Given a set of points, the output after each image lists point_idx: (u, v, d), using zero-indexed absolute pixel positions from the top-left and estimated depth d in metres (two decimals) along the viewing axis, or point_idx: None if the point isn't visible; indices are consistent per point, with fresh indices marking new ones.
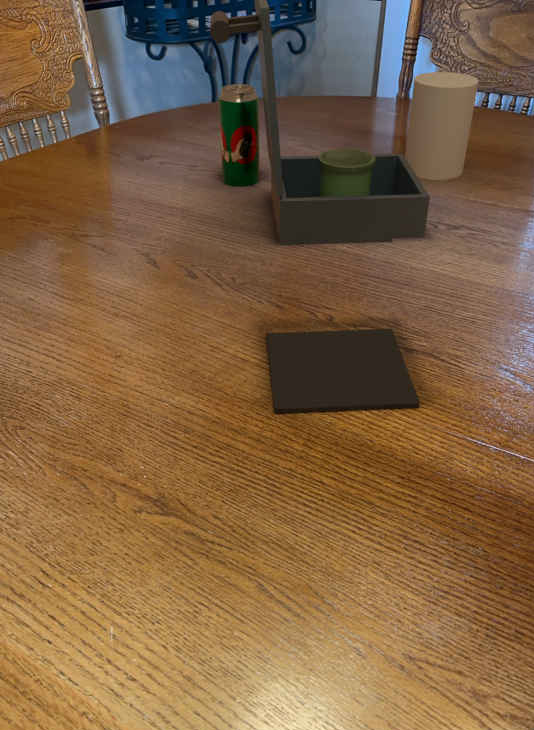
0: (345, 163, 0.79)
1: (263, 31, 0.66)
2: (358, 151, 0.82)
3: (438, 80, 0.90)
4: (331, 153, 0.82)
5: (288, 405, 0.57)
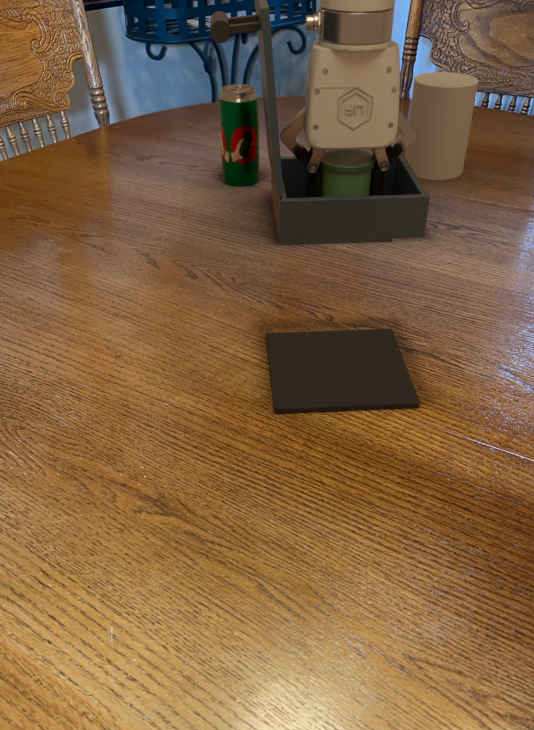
0: (345, 163, 0.79)
1: (263, 31, 0.66)
2: (359, 151, 0.82)
3: (438, 80, 0.90)
4: (331, 153, 0.82)
5: (288, 405, 0.57)
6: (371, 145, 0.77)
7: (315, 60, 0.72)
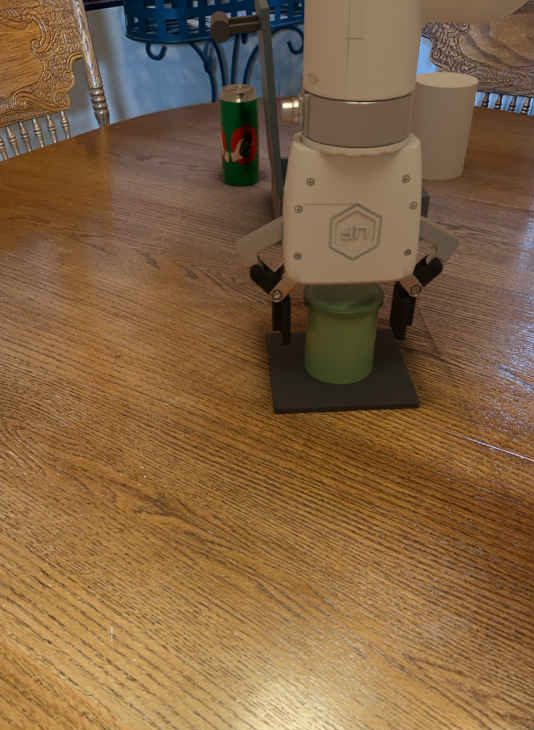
0: (340, 304, 0.56)
1: (263, 31, 0.66)
2: None
3: (438, 80, 0.90)
4: (321, 285, 0.58)
5: (288, 405, 0.57)
6: (379, 278, 0.53)
7: (295, 166, 0.48)
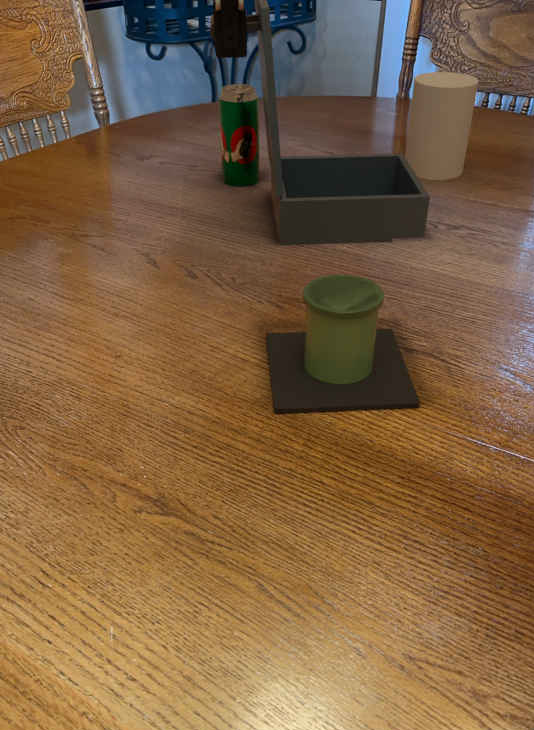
0: (340, 304, 0.56)
1: (263, 31, 0.66)
2: (360, 279, 0.59)
3: (438, 80, 0.90)
4: (321, 285, 0.58)
5: (288, 405, 0.57)
6: None
7: None
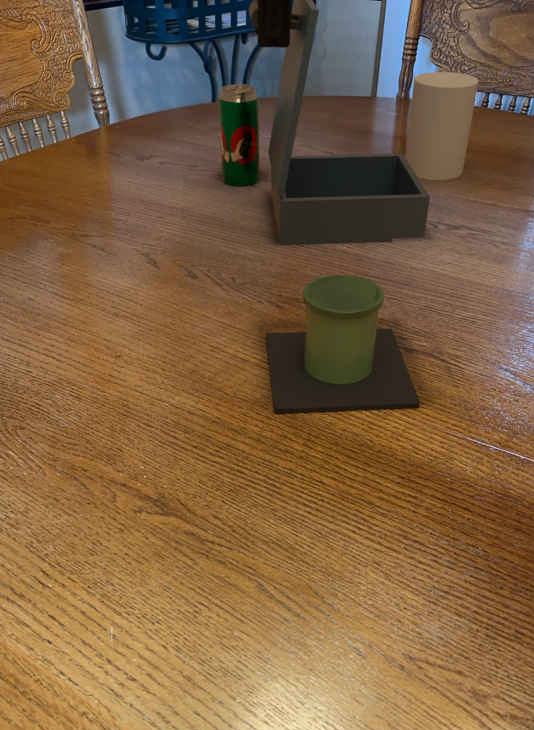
0: (340, 304, 0.56)
1: (307, 32, 0.66)
2: (360, 279, 0.59)
3: (438, 80, 0.90)
4: (321, 285, 0.58)
5: (288, 405, 0.57)
6: None
7: None
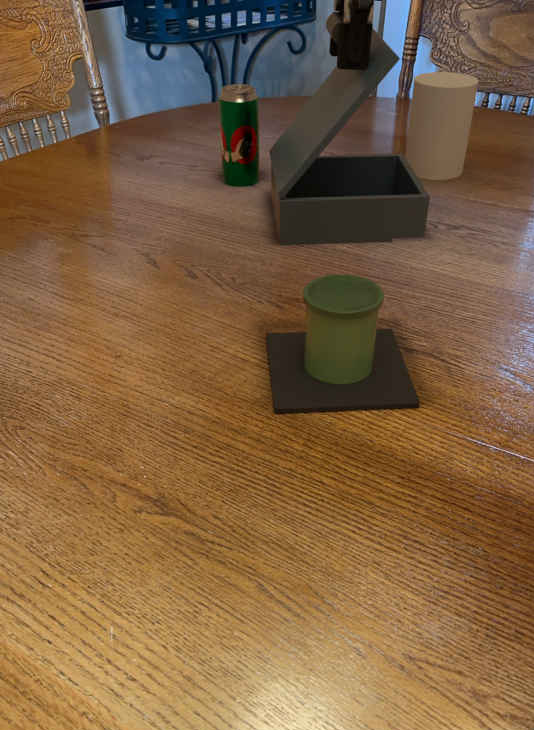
0: (340, 304, 0.56)
1: (381, 70, 0.68)
2: (360, 279, 0.59)
3: (438, 80, 0.90)
4: (321, 285, 0.58)
5: (288, 405, 0.57)
6: None
7: None
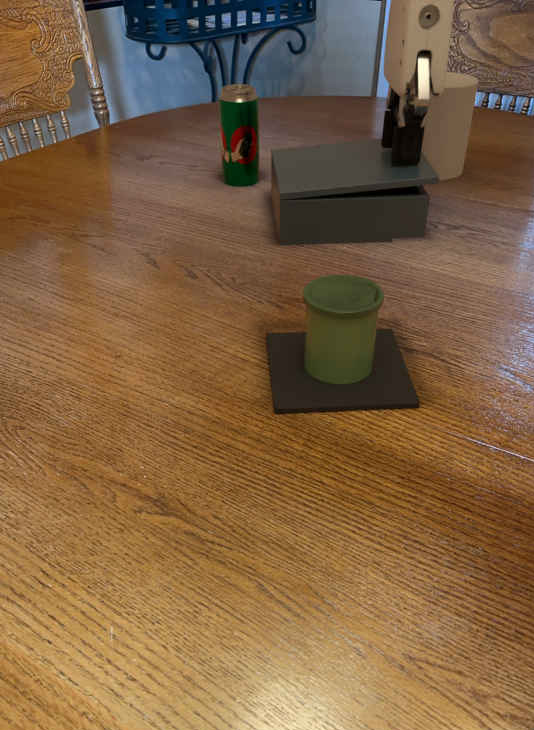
0: (340, 304, 0.56)
1: (422, 179, 0.76)
2: (360, 279, 0.59)
3: None
4: (321, 285, 0.58)
5: (288, 405, 0.57)
6: None
7: None
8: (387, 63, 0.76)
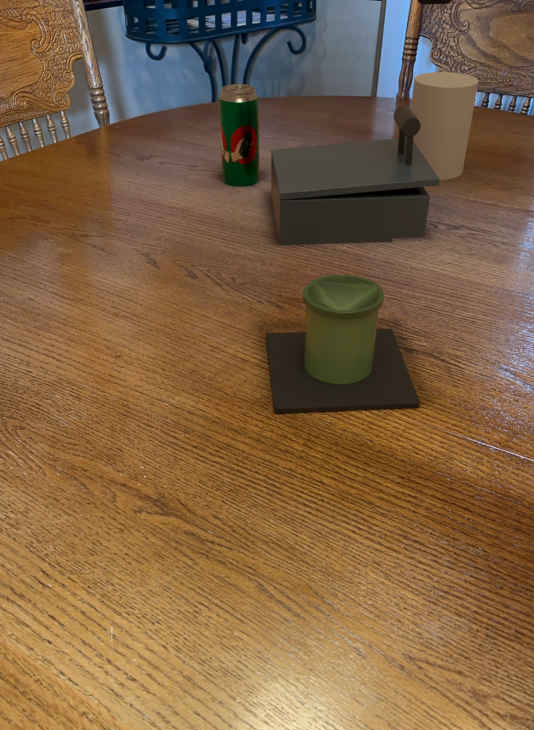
0: (340, 304, 0.56)
1: (422, 180, 0.76)
2: (360, 279, 0.59)
3: (438, 80, 0.90)
4: (321, 285, 0.58)
5: (288, 405, 0.57)
6: None
7: None
8: None
